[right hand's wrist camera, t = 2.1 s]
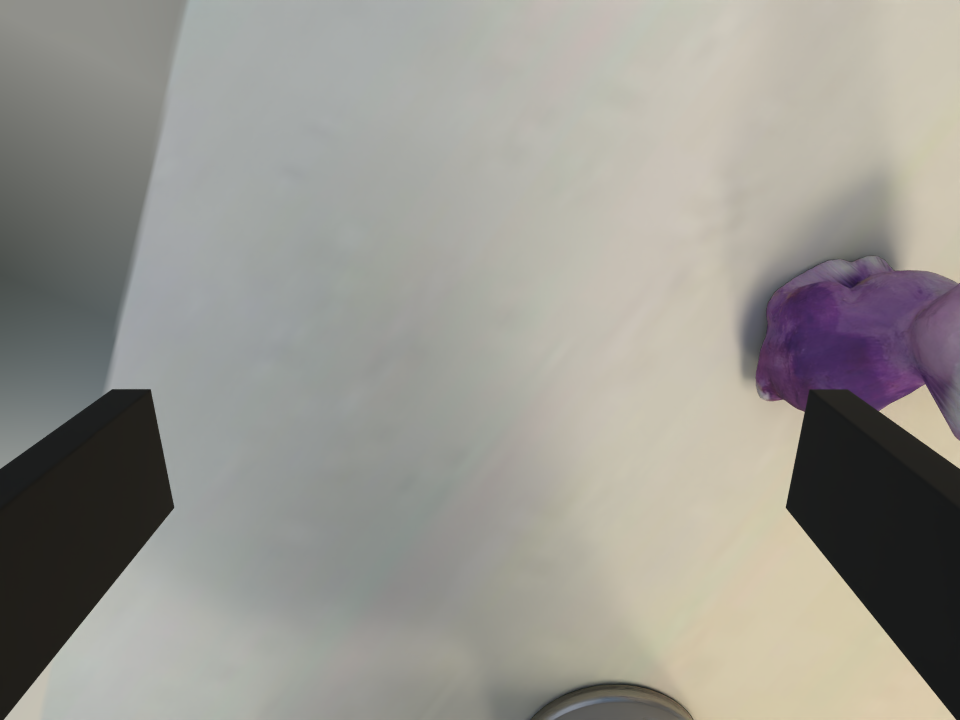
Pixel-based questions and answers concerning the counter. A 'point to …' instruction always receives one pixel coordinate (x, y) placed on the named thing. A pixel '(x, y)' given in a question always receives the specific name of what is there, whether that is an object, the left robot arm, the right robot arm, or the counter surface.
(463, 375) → the counter surface
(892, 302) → the figurine
